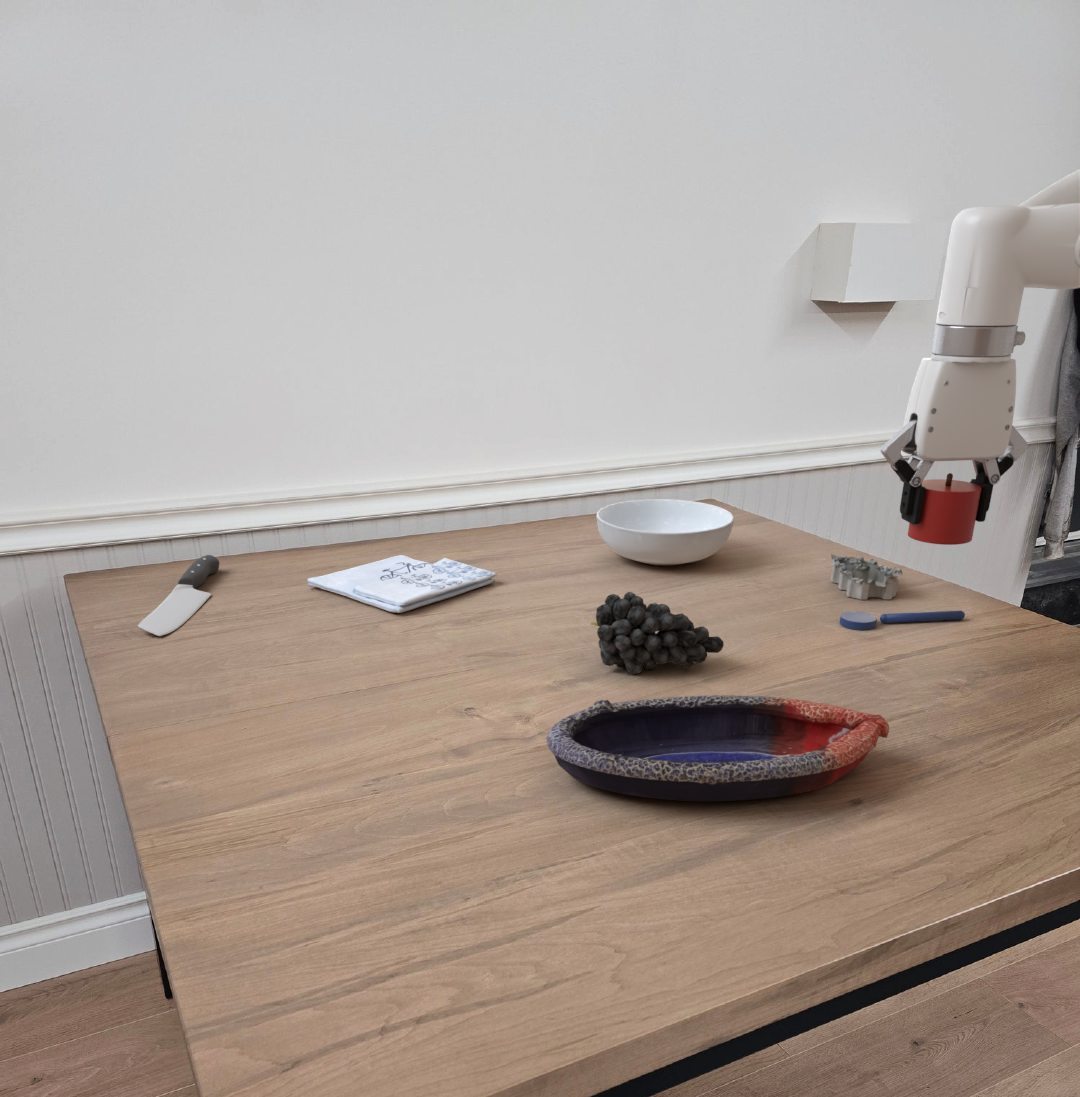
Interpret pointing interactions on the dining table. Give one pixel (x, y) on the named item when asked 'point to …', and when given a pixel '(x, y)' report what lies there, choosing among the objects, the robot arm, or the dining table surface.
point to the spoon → (894, 618)
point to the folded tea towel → (404, 582)
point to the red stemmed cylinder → (947, 512)
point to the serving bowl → (664, 530)
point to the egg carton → (864, 578)
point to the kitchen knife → (181, 599)
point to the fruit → (649, 635)
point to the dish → (713, 746)
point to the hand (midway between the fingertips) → (942, 518)
